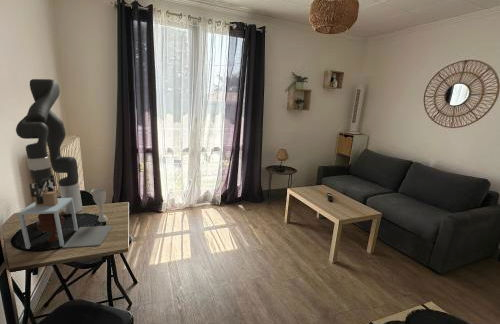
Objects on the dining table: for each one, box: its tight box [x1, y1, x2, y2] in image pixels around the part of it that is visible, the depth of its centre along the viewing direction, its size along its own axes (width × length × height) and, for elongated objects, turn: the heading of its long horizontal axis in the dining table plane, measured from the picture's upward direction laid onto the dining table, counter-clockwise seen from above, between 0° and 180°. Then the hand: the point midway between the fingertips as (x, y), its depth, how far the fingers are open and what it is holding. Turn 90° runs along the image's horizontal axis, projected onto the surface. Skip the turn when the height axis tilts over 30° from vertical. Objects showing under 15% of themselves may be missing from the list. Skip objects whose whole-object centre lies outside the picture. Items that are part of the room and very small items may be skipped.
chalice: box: [90, 187, 109, 223], centre depth 139 cm, size 7×7×18 cm
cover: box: [17, 190, 79, 250], centre depth 120 cm, size 15×15×24 cm
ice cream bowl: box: [35, 213, 66, 243], centre depth 121 cm, size 11×11×15 cm
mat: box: [61, 224, 114, 249], centre depth 126 cm, size 18×16×1 cm
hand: (46, 200), depth 117 cm, fingers open, 8 cm apart
